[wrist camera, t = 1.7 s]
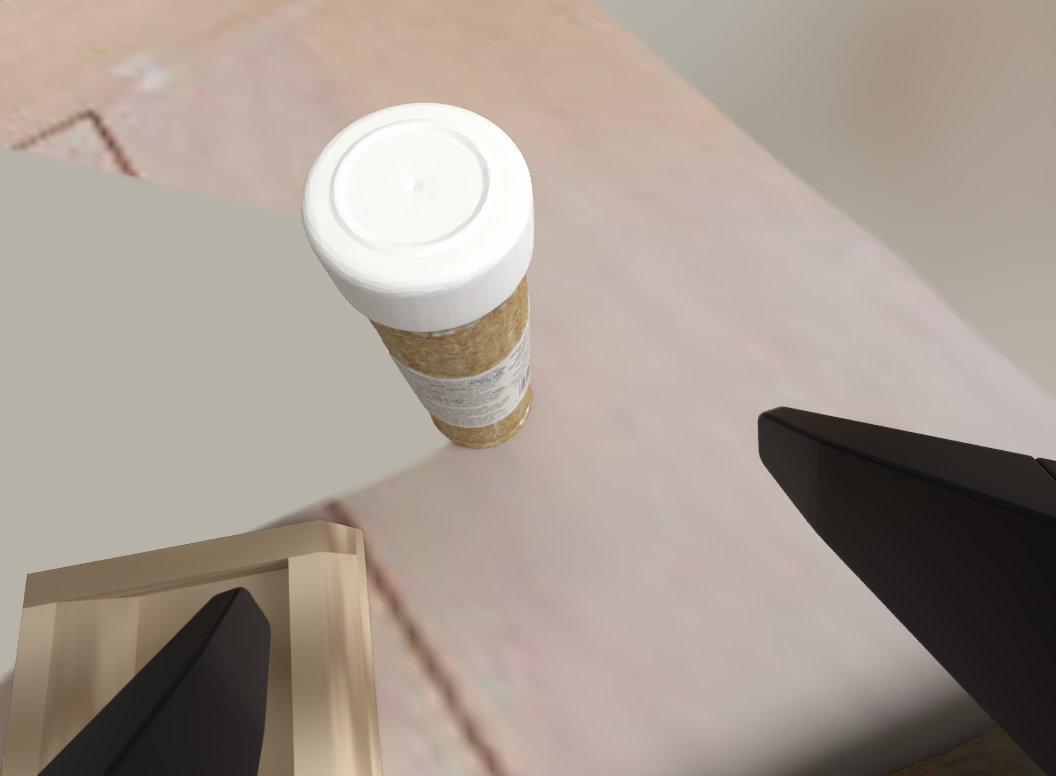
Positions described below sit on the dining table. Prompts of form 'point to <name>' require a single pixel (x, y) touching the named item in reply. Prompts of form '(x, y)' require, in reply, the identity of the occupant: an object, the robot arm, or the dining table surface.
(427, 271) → the sprinkles bottle
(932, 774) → the hand tool
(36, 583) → the beech holder
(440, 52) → the dining table surface
